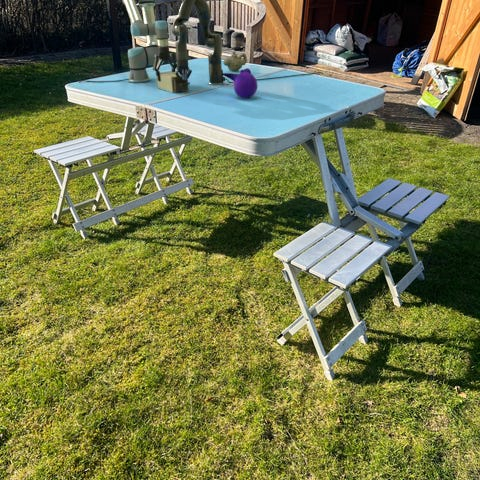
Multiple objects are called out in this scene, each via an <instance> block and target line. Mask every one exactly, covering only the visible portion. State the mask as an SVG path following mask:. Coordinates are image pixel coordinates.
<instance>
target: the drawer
mask: <svg viewBox="0 0 480 480" xmlns="http://www.w3.org/2000/svg"><path fill="white" fill-rule="evenodd" d="M172 79H173V90H175V92H174V93H179V91H180V92H184V91H189V85H191V82H190V81H189V78H188V79H186V83H182V82H181V80H180V79H178V78H172ZM183 85H186V86H183Z"/></svg>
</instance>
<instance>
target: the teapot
mask: <svg viewBox="0 0 480 480" xmlns="http://www.w3.org/2000/svg"><path fill="white" fill-rule="evenodd" d="M242 58H243V60H241V59H242ZM247 61H248V59H247V54H246V53H244V52H243V53H240V54H239V55H238V54H237V53H236V51H232V54H231V55H230V57H226V58H225V59H224V60H223V64H222V65H224V66H225V67H227V69H228V71H229V72H231V73H233V72H238V71H240V70H241V69H242V67H243V66H245V65H246V64H247Z"/></svg>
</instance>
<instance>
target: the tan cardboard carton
mask: <svg viewBox="0 0 480 480" xmlns="http://www.w3.org/2000/svg"><path fill="white" fill-rule="evenodd" d="M179 75H180V74H179ZM180 77H181V76H180ZM172 78H178V77H177V76H176V75H175V74H174V72H172V70H169V71H161V72H160V80H161V81H158V79H157V78H156V81H157V89H160V90H163V91H166V92H169V93H176V92H175V90H173V79H172ZM179 92H181V91H179ZM179 92H178V93H179Z"/></svg>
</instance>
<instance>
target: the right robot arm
mask: <svg viewBox="0 0 480 480" xmlns="http://www.w3.org/2000/svg"><path fill="white" fill-rule="evenodd" d="M193 7H194V11H195V13H196V17H197V19H198V21H199V24H200V28H201V32H202V36H203V40H204V43H205V44H204V45H205V46H206V47H207V48H209V49H213V52H211V53H208V55H207V57H208V58H207V59H208V60H207V61H208V81H209V85H211V86H219V85H223V84H224V82H226V81H227V82H228V83H229V84H232V83H233V84H234V81H229V80H230V79H229V78H226V76H224V75H222V73H224V70H223V67H222V66H223V64H222V54H223V39H222V36H221V34H219V33H212V32H211V28H210V24H211V20H212V12H211V9H210V5H209V3H208V2H207V1H206V0H183V1H182V3H181V5H180V7H179V11H178V14H177V16H176V18H175V20H174V22H173V23H172V26H171V33H172V35H173V36H175V37H179V39H178V40H176V41H175V61H176V64H177V68H176V70H175V72H174V74H175V75H176V76H177V77H178V79H180V80H181V82H182V83H186V79H188V80H189V78H190V76H191V74H192V73H193V70H192V69H190V67H189V55H188V46H187V42H188V37H189V28H188V26H187V25H186V23H188V22H189V21H190V17H191V14H192V10H193ZM179 74H180V75H179ZM316 74H321V75H324V73H323V72H322V71H317V72H310V73H300V74H292V75H284V76H275V77H267V78H266V77H265V78H256V80H257V81H266V80H273V79H274V80H275V79H282V78H289V77H299V76H307V75H309V76H310V75H316ZM180 76H181V77H180ZM183 86H186V85H183Z"/></svg>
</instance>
